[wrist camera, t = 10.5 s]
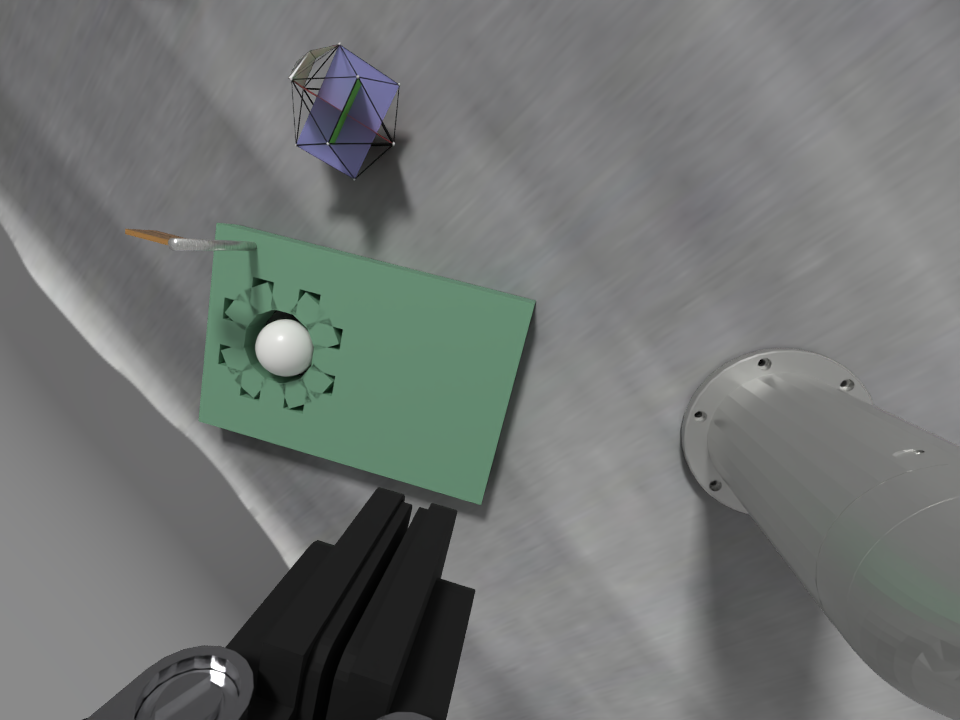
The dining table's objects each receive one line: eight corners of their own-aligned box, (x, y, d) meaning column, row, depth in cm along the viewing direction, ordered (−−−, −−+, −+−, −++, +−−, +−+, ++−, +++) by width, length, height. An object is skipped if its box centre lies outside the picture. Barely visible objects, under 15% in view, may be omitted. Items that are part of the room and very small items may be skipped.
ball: (286, 330, 33) (245, 313, 35) (278, 389, 34) (239, 368, 36) (333, 327, 37) (294, 311, 39) (324, 379, 38) (287, 362, 40)
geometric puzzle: (444, 111, 31) (340, 28, 25) (396, 206, 33) (288, 150, 27) (392, 88, 35) (292, 12, 29) (352, 173, 37) (250, 119, 31)
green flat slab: (535, 300, 35) (534, 304, 32) (485, 489, 39) (480, 505, 36) (238, 224, 37) (216, 222, 35) (219, 411, 41) (198, 421, 39)
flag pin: (276, 243, 37) (179, 239, 27) (275, 252, 37) (178, 251, 27) (235, 232, 37) (124, 225, 27) (234, 241, 37) (123, 237, 28)
